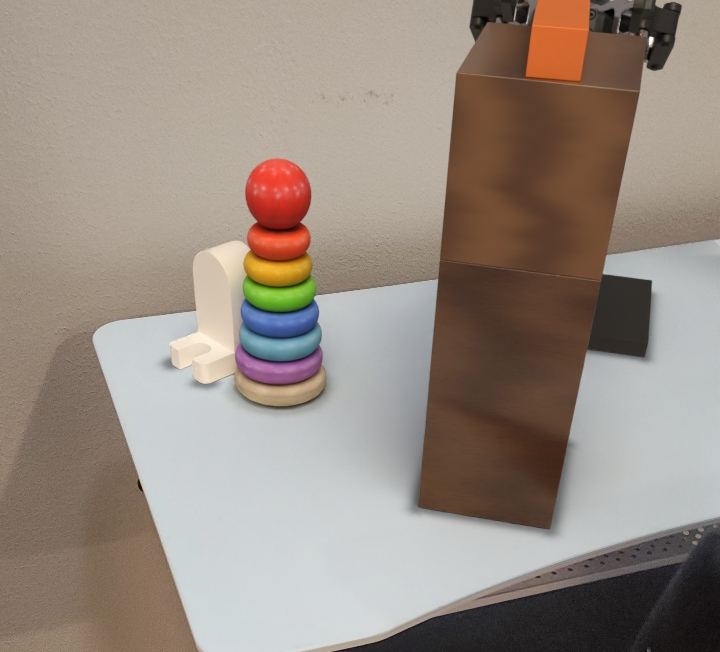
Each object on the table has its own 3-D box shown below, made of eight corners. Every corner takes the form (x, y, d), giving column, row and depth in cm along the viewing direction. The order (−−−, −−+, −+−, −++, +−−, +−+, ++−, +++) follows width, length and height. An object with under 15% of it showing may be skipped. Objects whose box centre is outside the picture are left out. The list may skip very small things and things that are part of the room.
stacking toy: (332, 408, 85) (335, 180, 72) (238, 413, 84) (224, 183, 71) (319, 362, 91) (320, 143, 78) (231, 367, 90) (217, 145, 77)
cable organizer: (290, 349, 92) (288, 242, 85) (204, 385, 87) (195, 274, 80) (254, 329, 95) (249, 223, 88) (168, 362, 90) (156, 253, 83)
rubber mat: (648, 294, 103) (652, 280, 102) (644, 357, 93) (648, 342, 92) (552, 281, 105) (554, 267, 104) (538, 342, 95) (540, 327, 94)
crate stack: (564, 443, 82) (646, 36, 62) (550, 529, 74) (640, 91, 53) (445, 425, 84) (487, 21, 63) (417, 507, 75) (456, 72, 55)
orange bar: (585, 3, 68) (592, -41, 66) (580, 81, 54) (588, 29, 52) (540, 0, 68) (546, -44, 66) (525, 77, 55) (532, 24, 53)
